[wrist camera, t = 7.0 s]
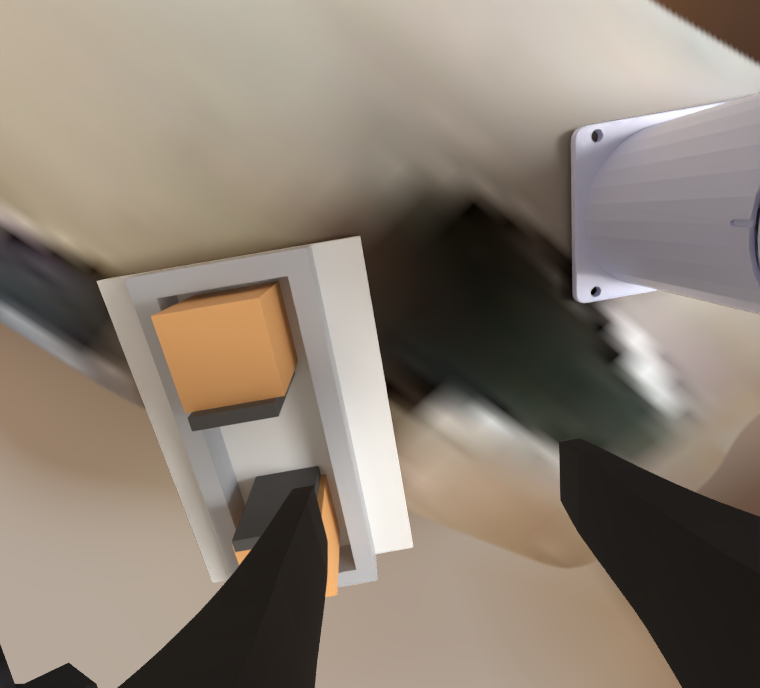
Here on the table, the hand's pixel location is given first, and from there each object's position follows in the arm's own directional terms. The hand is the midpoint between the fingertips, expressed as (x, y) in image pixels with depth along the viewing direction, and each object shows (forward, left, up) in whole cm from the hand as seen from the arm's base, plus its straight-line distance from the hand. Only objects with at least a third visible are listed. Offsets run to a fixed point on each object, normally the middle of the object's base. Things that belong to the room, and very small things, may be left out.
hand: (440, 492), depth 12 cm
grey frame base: (+7, +2, -10) cm, 12 cm away
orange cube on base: (+7, -3, -9) cm, 12 cm away
